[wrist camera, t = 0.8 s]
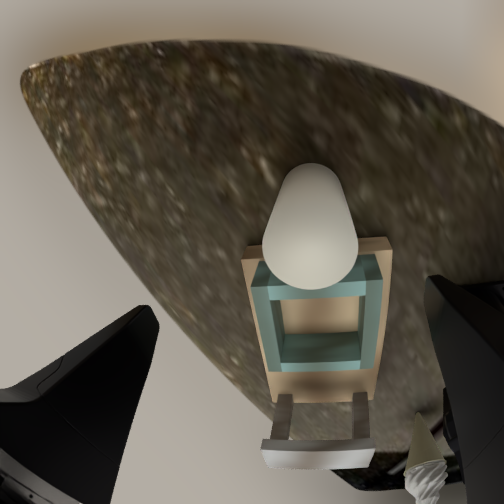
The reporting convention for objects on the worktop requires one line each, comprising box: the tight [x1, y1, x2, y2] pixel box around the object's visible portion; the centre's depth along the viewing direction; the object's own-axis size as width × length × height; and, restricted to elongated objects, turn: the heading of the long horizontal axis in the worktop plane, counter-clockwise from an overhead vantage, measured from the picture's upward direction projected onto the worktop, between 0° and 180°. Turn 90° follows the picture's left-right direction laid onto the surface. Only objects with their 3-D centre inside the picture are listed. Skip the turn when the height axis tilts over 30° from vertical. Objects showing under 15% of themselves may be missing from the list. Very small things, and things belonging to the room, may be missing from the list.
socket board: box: [241, 237, 392, 469], centre depth 20 cm, size 10×16×10 cm, turn 10°
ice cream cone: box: [404, 412, 448, 504], centre depth 22 cm, size 5×5×15 cm
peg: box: [262, 163, 358, 290], centre depth 16 cm, size 4×4×8 cm
